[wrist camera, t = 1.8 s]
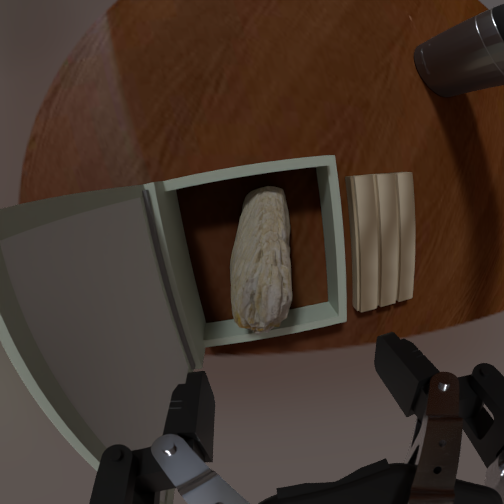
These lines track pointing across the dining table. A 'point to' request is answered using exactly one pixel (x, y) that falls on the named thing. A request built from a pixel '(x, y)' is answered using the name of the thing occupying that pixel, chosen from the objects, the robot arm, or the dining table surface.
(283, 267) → the fossil tooth
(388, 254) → the slatted stand
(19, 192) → the dining table surface
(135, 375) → the cold frame
